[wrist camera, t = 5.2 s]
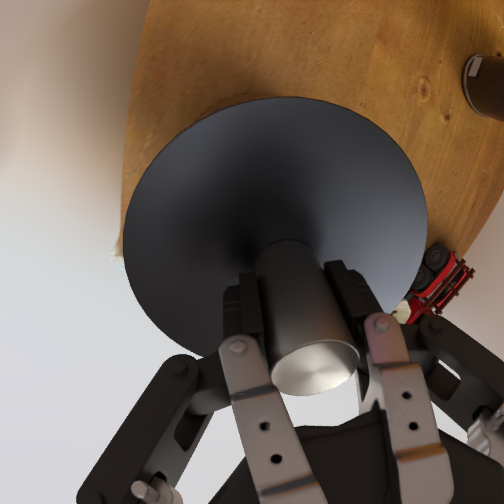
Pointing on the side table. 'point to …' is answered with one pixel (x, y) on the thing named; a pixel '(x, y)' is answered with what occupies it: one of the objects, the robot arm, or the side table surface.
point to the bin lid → (275, 230)
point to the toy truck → (436, 283)
